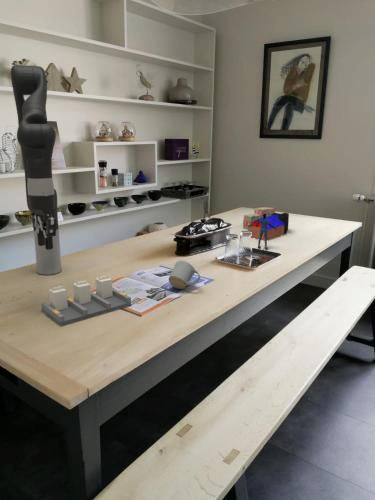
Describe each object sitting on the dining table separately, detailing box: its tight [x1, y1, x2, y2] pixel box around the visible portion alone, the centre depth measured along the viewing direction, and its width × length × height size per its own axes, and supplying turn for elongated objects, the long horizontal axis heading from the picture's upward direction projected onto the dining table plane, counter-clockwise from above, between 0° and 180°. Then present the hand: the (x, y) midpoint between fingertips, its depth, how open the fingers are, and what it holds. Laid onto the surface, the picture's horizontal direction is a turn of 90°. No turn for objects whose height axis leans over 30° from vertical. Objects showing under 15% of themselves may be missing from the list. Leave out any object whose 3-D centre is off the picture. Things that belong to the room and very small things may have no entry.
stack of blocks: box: [242, 206, 276, 231], centre depth 249 cm, size 21×6×12 cm, turn 129°
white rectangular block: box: [94, 275, 113, 299], centre depth 139 cm, size 4×4×7 cm
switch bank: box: [40, 287, 132, 327], centre depth 132 cm, size 14×24×3 cm, turn 131°
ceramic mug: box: [168, 260, 201, 290], centre depth 149 cm, size 11×8×8 cm
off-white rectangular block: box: [72, 280, 92, 305], centre depth 133 cm, size 4×4×7 cm
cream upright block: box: [48, 285, 68, 311], centre depth 128 cm, size 4×4×7 cm
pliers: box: [202, 197, 211, 220], centre depth 238 cm, size 10×1×20 cm, turn 144°
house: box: [247, 214, 285, 242], centre depth 228 cm, size 12×20×12 cm, turn 139°
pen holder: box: [272, 212, 290, 234], centre depth 237 cm, size 9×9×10 cm
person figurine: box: [256, 214, 276, 251], centre depth 202 cm, size 11×4×18 cm, turn 52°
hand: (45, 247), depth 130 cm, fingers open, 5 cm apart
